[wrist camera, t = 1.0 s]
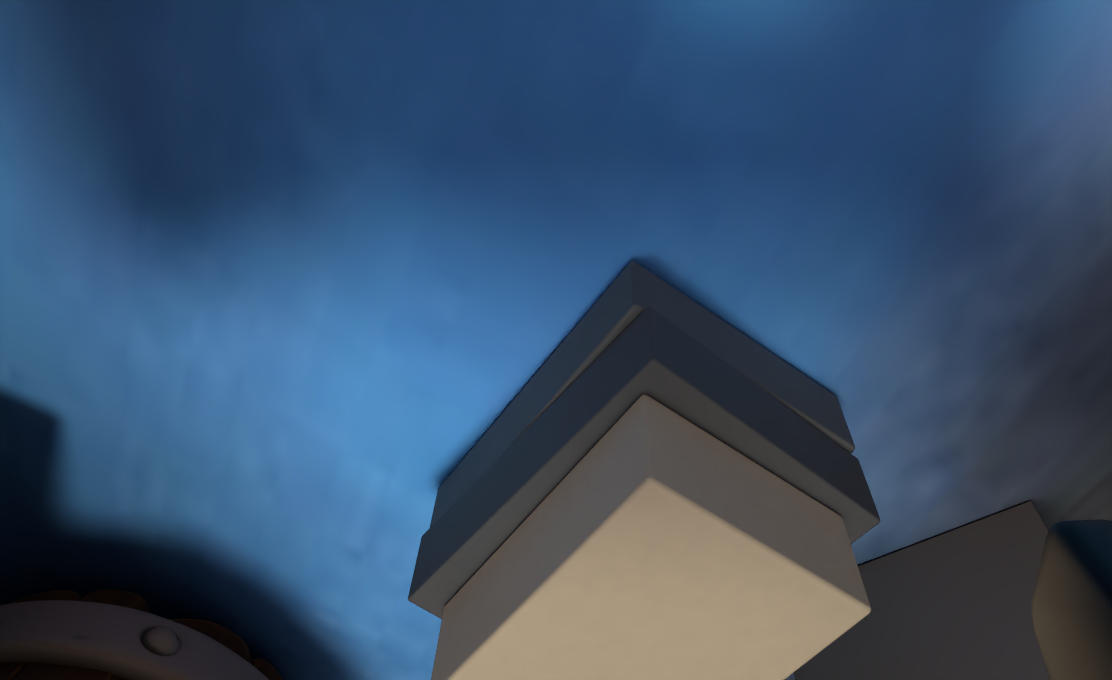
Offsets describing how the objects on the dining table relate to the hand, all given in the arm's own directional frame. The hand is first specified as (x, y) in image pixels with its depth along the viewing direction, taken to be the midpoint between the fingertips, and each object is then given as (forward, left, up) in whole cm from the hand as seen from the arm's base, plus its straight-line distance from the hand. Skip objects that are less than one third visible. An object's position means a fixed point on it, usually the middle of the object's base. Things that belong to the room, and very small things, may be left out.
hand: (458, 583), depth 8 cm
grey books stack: (-7, +6, -13) cm, 16 cm away
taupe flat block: (-7, +6, -9) cm, 13 cm away
